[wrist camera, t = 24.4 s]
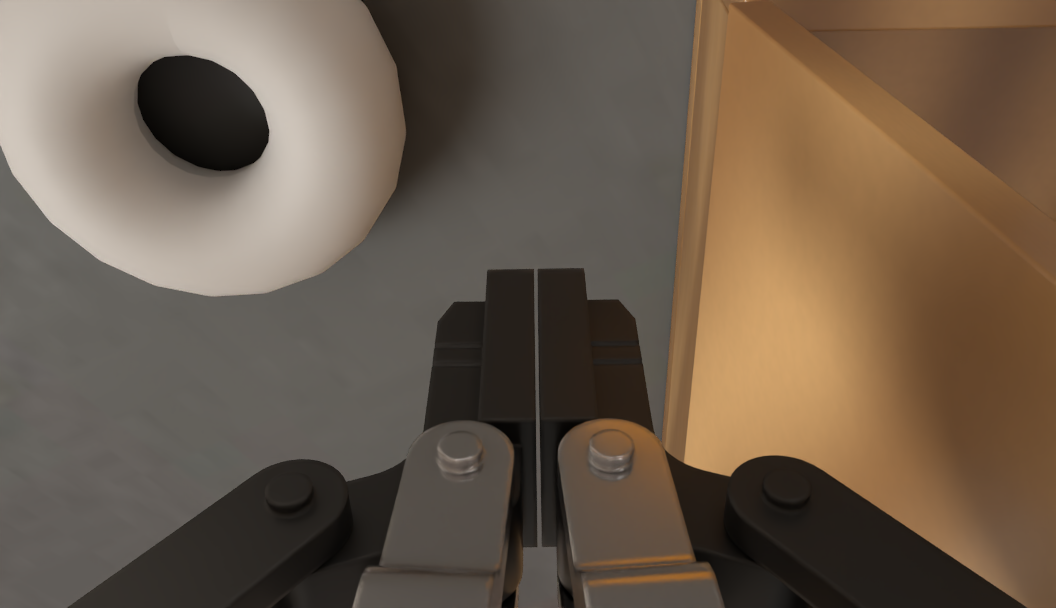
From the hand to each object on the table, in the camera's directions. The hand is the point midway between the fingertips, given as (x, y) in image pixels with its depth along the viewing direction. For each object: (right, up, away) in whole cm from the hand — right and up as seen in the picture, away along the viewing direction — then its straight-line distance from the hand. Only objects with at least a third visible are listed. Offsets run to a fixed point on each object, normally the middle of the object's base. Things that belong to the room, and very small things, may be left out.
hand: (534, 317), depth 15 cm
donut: (-8, +6, +10) cm, 14 cm away
